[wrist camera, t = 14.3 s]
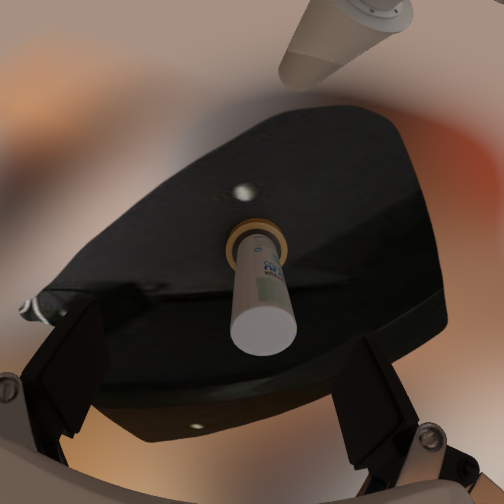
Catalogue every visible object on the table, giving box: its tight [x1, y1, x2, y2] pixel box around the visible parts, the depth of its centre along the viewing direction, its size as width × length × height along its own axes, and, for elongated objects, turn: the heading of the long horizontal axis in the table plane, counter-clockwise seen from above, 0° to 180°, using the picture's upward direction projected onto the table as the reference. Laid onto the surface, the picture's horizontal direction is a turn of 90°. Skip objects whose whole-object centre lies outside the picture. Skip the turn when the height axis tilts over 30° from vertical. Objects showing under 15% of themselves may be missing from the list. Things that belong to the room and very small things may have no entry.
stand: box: [226, 218, 287, 271], centre depth 45 cm, size 10×10×3 cm
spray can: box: [230, 234, 297, 356], centre depth 35 cm, size 6×6×20 cm
